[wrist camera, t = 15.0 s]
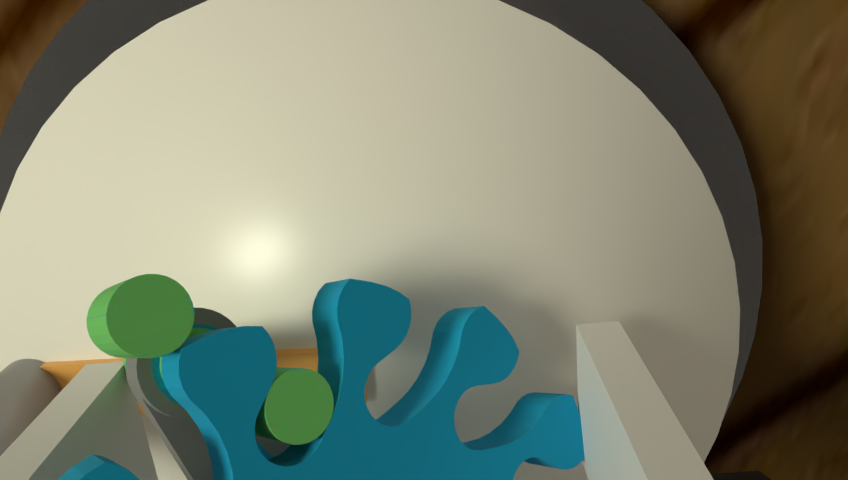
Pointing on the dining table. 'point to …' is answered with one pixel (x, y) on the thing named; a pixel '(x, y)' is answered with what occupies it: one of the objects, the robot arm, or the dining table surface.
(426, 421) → the gear
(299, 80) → the dial
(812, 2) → the dining table surface
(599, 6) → the dial base
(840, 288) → the dining table surface
